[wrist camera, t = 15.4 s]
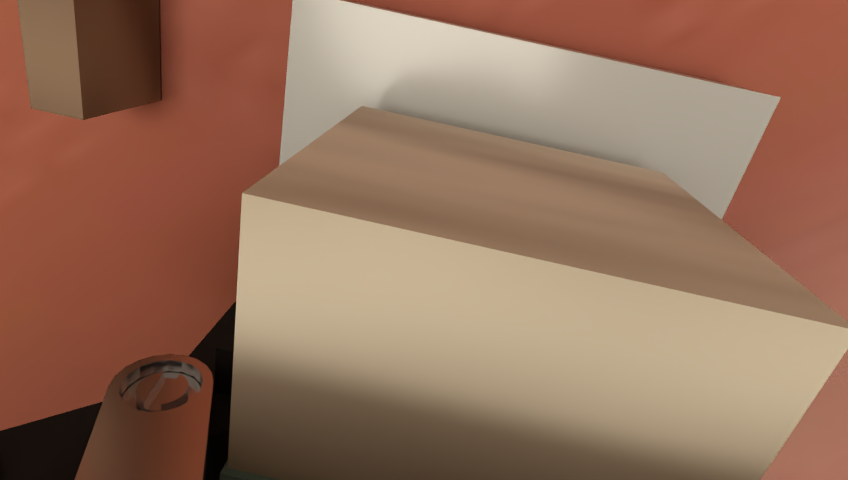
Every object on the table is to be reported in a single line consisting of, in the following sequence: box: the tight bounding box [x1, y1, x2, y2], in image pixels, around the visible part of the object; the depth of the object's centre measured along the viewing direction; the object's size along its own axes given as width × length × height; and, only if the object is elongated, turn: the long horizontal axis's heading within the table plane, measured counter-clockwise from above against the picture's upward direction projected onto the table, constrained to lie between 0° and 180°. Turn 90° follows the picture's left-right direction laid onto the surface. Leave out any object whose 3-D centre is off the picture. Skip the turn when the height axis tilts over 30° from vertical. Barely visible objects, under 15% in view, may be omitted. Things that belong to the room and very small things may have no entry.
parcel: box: [220, 106, 848, 480], centre depth 9 cm, size 9×6×6 cm
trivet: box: [279, 0, 781, 220], centre depth 14 cm, size 12×10×2 cm
